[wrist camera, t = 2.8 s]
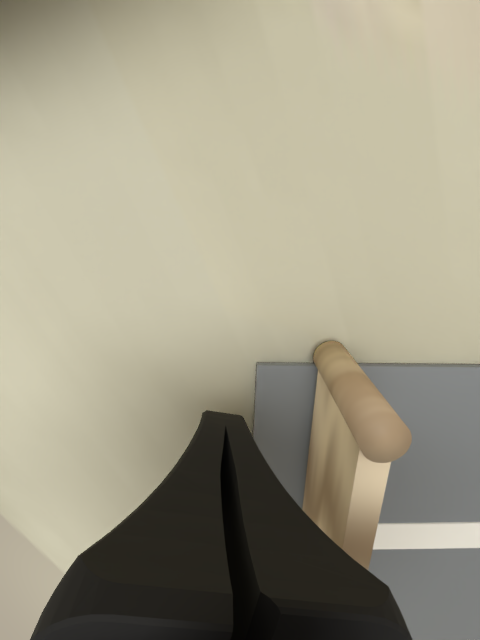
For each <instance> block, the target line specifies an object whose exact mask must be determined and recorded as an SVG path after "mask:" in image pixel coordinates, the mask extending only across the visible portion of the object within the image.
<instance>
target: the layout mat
mask: <svg viewBox="0 0 480 640" xmlns="http://www.w3.org/2000/svg"><path fill="white" fill-rule="evenodd" d="M357 364H358V365H359V366H360V368H361V369H362V370H363V371H364V373H365V374H366V375H367V376H368V378H369V379H370V380H371V382H372V383H373V384H374V385H375V387H376V388H377V389H378V390H379V392H380V393H381V394H382V395H383V397H384V398H385V399H386V401H387V402H388V403H389V404H390V406H391V407H392V408H393V409H394V411H395V412H396V413H397V414H398V416H399V417H400V418H401V420H402V421H403V422H404V423H405V425H406V426H407V427H408V428H409V430H410V432H411V435H412V441H411V445H410V447H409V449H408V450H407V452H406V453H405V454H404V455H403V456H401V457H400V458H398V459H397V460H394V461H392V462H391V465H390V470H389V474H388V479H387V484H386V488H385V493H384V498H383V503H382V507H381V512H380V517H379V522H378V526H377V531H376V536H375V540H374V545H373V550H372V555H371V559H370V564H369V569H368V571H369V572H371V573H372V574H373V575H374V576H376V577H377V578H378V579H380V580H381V581H382V582H383V583H385V584H386V585H387V586H389V588H390V590H391V593H392V595H393V597H394V598H395V600H396V602H397V604H398V606H399V608H400V611H401V613H402V615H403V618H404V620H405V623H406V625H407V627H408V630H409V632H410V635H411V637H412V639H413V640H480V364H388V363H357ZM317 375H318V369H317V367H316V365H315V363H267V362H257V365H256V386H255V407H254V429H253V439H254V441H255V442H256V444H257V446H258V448H259V450H260V451H261V453H262V455H263V456H264V458H265V460H266V462H267V463H268V465H269V466H270V468H271V469H272V471H273V472H274V474H275V475H276V477H277V478H278V480H279V481H280V483H281V484H282V485H283V487H284V488H285V489H286V491H287V492H288V493H289V495H290V496H291V497H292V498H293V499H294V501H295V502H296V503H297V504H298V505H299V507H300V508H301V509H302V508H303V499H304V490H305V481H306V472H307V463H308V455H309V446H310V437H311V428H312V419H313V410H314V401H315V393H316V384H317Z"/></svg>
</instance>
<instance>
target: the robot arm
mask: <svg viewBox="0 0 480 640" xmlns="http://www.w3.org/2000/svg"><path fill="white" fill-rule="evenodd" d="M30 640H413V639H412V637H411V635H410V632H409V630H408V627H407V625H406V623H405V620H404V618H403V615H402V613H401V611H400V608H399V606H398V604H397V602H396V600H395V598H394V597H393V595H392V593H391V590H390V588H389V586H387V585H386V584H385V583H383V582H382V581H381V580H380V579H378V578H377V577H376V576H374V575H373V574H372V573H371V572H369V571H368V570H367V569H366V568H364V567H363V566H362V565H360V564H359V563H358V562H357V561H355V560H354V559H353V558H352V557H350V556H349V555H348V554H347V553H346V552H345V551H344V550H343V549H341V548H340V547H339V546H338V545H337V544H336V543H335V542H334V541H332V540H331V539H330V538H329V537H328V536H327V535H326V534H325V533H324V532H323V531H322V530H321V529H320V528H319V527H318V526H317V525H316V524H315V523H314V522H313V521H312V520H311V519H310V518H309V516H308V515H307V514H306V513H305V512H304V511H303V510H302V509H301V508H300V507H299V505H298V504H297V503H296V502H295V501H294V499H293V498H292V497H291V496H290V495H289V493H288V492H287V491H286V489H285V488H284V487H283V485H282V484H281V483H280V481H279V480H278V478H277V477H276V475H275V474H274V472H273V471H272V469H271V468H270V466H269V465H268V463H267V462H266V460H265V458H264V456H263V455H262V453H261V451H260V450H259V448H258V446H257V444H256V442H255V441H254V439H253V437H252V435H251V433H250V431H249V429H248V427H247V425H246V422H245V420H244V418H243V417H242V416H240V415H233V414H227V413H220V412H213V411H207V410H206V411H205V412H203V413H202V418H201V422H200V424H199V427H198V429H197V431H196V433H195V435H194V437H193V439H192V440H191V442H190V444H189V446H188V447H187V449H186V450H185V452H184V453H183V455H182V456H181V458H180V459H179V461H178V462H177V464H176V465H175V466H174V468H173V469H172V470H171V472H170V473H169V474H168V475H167V477H166V478H165V479H164V480H163V481H162V483H161V484H160V485H159V486H158V487H157V488H156V489H155V490H154V491H153V493H152V494H151V495H150V496H149V497H148V498H147V499H146V500H145V501H144V502H143V503H142V504H141V505H140V506H139V507H138V508H137V509H136V510H135V511H133V512H132V513H131V514H130V515H129V516H128V517H127V518H126V519H124V520H123V521H122V522H121V523H120V524H119V525H118V526H117V527H115V528H114V529H113V530H112V531H111V532H109V533H108V534H107V535H105V536H104V537H103V538H101V539H100V540H99V541H97V542H96V543H95V544H93V545H92V546H91V547H89V548H88V549H87V550H85V551H84V552H83V553H81V554H80V555H79V556H78V557H77V558H76V560H75V561H74V562H73V564H72V565H71V567H70V568H69V570H68V571H67V572H66V574H65V575H64V577H63V578H62V580H61V582H60V583H59V585H58V586H57V588H56V589H55V591H54V593H53V594H52V596H51V598H50V600H49V602H48V603H47V605H46V607H45V608H44V610H43V612H42V614H41V616H40V618H39V621H38V623H37V625H36V628H35V630H34V632H33V634H32V637H31V639H30Z"/></svg>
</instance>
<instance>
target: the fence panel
mask: <svg viewBox="0 0 480 640" xmlns="http://www.w3.org/2000/svg"><path fill="white" fill-rule="evenodd" d="M313 360H314V363H315V365H316V367H317V369H318V375H317V384H316V393H315V401H314V410H313V419H312V428H311V437H310V446H309V455H308V463H307V472H306V481H305V490H304V499H303V508H302V510H303V511H304V512H305V513H306V514H307V515H308V516H309V518H310V519H311V520H312V521H313V522H314V523H315V524H316V525H317V526H318V527H319V528H320V529H321V530H322V531H323V532H324V533H325V534H326V535H327V536H328V537H329V538H330V539H331V540H332V541H334V542H335V543H336V544H337V545H338V546H339V547H340V548H341V549H343V550H344V551H345V552H346V553H347V554H348V555H349V556H350V557H352V558H353V559H354V560H355V561H357V562H358V563H359V564H360V565H362V566H363V567H364V568H366V569H367V570H368V569H369V564H370V559H371V555H372V550H373V545H374V540H375V536H376V531H377V526H378V522H379V517H380V512H381V507H382V503H383V498H384V493H385V488H386V484H387V479H388V474H389V470H390V465H391V462H392V461H394V460H397V459H398V458H400V457H401V456H403V455H404V454H405V453H406V452H407V450H408V449H409V447H410V445H411V441H412V435H411V432H410V430H409V428H408V427H407V426H406V425H405V423H404V422H403V421H402V420H401V418H400V417H399V416H398V414H397V413H396V412H395V411H394V409H393V408H392V407H391V406H390V404H389V403H388V402H387V401H386V399H385V398H384V397H383V395H382V394H381V393H380V392H379V390H378V389H377V388H376V387H375V385H374V384H373V383H372V382H371V380H370V379H369V378H368V376H367V375H366V374H365V373H364V371H363V370H362V369H361V368H360V366H359V365H358V364H357V363H356V361H355V360H354V359H353V357H352V356H351V355H350V354H349V352H348V351H347V350H346V349H345V347H344V346H343V345H342V344H341V343H339V342H336V341H327V342H324V343H322V344H321V345H319V346H318V347H317V349H316V350H315V352H314V356H313Z"/></svg>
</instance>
